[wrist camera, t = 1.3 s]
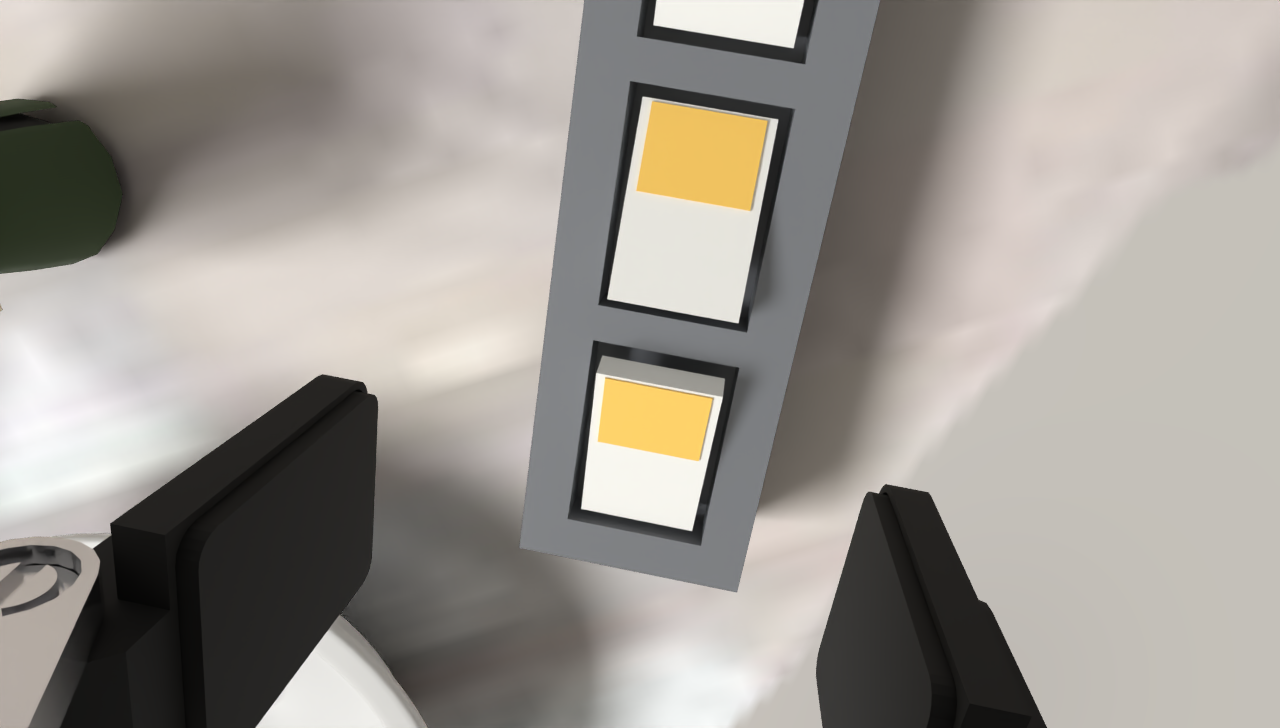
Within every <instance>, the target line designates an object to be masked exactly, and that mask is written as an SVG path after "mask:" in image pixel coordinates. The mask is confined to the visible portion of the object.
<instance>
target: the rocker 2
mask: <svg viewBox="0 0 1280 728" xmlns="http://www.w3.org/2000/svg"><path fill="white" fill-rule="evenodd" d="M803 3H804V0H656V8H655V16H654V25H655V26H661V27H667V28H673V29H680V30H686V31H692V32H698V33H704V34H710V35H716V36H722V37H728V38H734V39H740V40H746V41H752V42H758V43H764V44H771V45H777V46H783V47H789V48H794V44H795V39H796V35H797V30H798V26H799V21H800V17H801V12H802V8H803Z"/></svg>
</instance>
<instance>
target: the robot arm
mask: <svg viewBox="0 0 1280 728" xmlns="http://www.w3.org/2000/svg"><path fill="white" fill-rule="evenodd" d="M377 419H378V401H377V398H376V396H375V395H372V394H367V389H366V386H365V384H364V383H363V382H359V381H354V380H349V379H344V378H339V377H333V376H328V375H323V374H322V375H320V376H318V377H316V378H315V379H313V380H312V381H311V382H309V383H308V384H306V385H305V386H304V387H302V388H301V389H299V390H298V391H297V392H295V393H294V394H292V395H291V396H289V397H288V398H287V399H285V400H284V401H282V402H281V403H280V404H278V405H277V406H275V407H274V408H273V409H271V410H270V411H268V412H267V413H266V414H264V415H263V416H261V417H260V418H258V419H257V420H256V421H254V422H253V423H251V424H250V425H249V426H247V427H246V428H244V429H243V430H242V431H240V432H239V433H237V434H236V435H234V436H233V437H232V438H230V439H229V440H227V441H226V442H225V443H223V444H222V445H220V446H219V447H218V448H216V449H215V450H213V451H212V452H210V453H209V454H208V455H206V456H205V457H203V458H202V459H201V460H199V461H198V462H196V463H195V464H194V465H192V466H191V467H189V468H188V469H187V470H185V471H184V472H182V473H181V474H179V475H178V476H177V477H175V478H174V479H172V480H171V481H170V482H168V483H167V484H165V485H164V486H163V487H161V488H160V489H158V490H157V491H155V492H154V493H153V494H151V495H150V496H148V497H147V498H146V499H144V500H143V501H141V502H140V503H139V504H137V505H136V506H134V507H133V508H132V509H130V510H129V511H127V512H126V513H124V514H123V515H122V516H120V517H119V518H117V519H116V520H115V521H113V522H112V523H110V526H111V536H109V537H108V538H106V539H105V540H104V541H102V542H101V543H100V544H98V545H97V546H95V547H94V548H93V549H92V548H90V547H88V546H87V545H85V544H83V543H82V542H79V541H74V540H70V539H66V538H62V537H29V538H20V539H11V540H6V541H2V542H0V728H256V726H257V725H258V724H259V722H260V721H261V720H262V718H263V717H264V716H265V714H266V713H267V712H268V710H269V709H270V708H271V706H272V705H273V704H274V702H275V701H276V700H277V698H278V697H279V695H280V694H281V693H282V691H283V690H284V689H285V687H286V686H287V685H288V683H289V682H290V681H291V679H292V678H293V677H294V675H295V674H296V673H297V671H298V670H299V669H300V667H301V666H302V665H303V663H304V662H305V661H306V659H307V658H308V657H309V655H310V654H311V652H312V651H313V650H314V648H315V647H316V646H317V644H318V643H319V642H320V640H321V639H322V638H323V636H324V635H325V634H326V632H327V631H328V630H329V628H330V627H331V626H332V624H333V623H334V622H335V620H336V619H337V618H338V616H339V615H340V614H341V612H342V611H343V609H344V608H345V607H346V605H347V604H348V603H349V601H350V600H351V599H352V597H353V596H354V595H355V593H356V592H357V591H358V589H359V588H360V587H361V585H362V584H363V582H364V581H365V579H366V576H367V574H368V571H369V568H370V564H371V559H372V542H373V517H374V493H375V468H376V444H377ZM816 679H817V687H818V695H819V703H820V711H821V719H822V726H823V728H1047V727H1046V725H1045V722H1044V720H1043V718H1042V716H1041V714H1040V712H1039V710H1038V708H1037V705H1036V704H1035V701H1034V699H1033V697H1032V695H1031V693H1030V691H1029V689H1028V687H1027V685H1026V682H1025V680H1024V678H1023V676H1022V674H1021V672H1020V670H1019V667H1018V665H1017V663H1016V661H1015V659H1014V657H1013V655H1012V653H1011V651H1010V649H1009V646H1008V644H1007V642H1006V640H1005V638H1004V636H1003V634H1002V632H1001V629H1000V627H999V625H998V623H997V621H996V619H995V617H994V615H993V613H992V611H991V609H990V608H989V607H988V605H987V603H985V602H982V601H980V600H978V598H977V595H976V593H975V591H974V589H973V587H972V585H971V582H970V580H969V578H968V576H967V574H966V571H965V569H964V567H963V565H962V563H961V561H960V558H959V556H958V554H957V552H956V550H955V547H954V546H953V543H952V541H951V539H950V537H949V534H948V532H947V530H946V528H945V526H944V523H943V521H942V519H941V517H940V515H939V512H938V510H937V508H936V506H935V504H934V502H933V499H932V497H931V495H930V494H929V493H928V492H923V491H918V490H913V489H908V488H903V487H898V486H893V485H887V484H885V485H884V486H883V487H882V489H881V491H880V493H879V494H878V493H873V492H868V493H867V494H866V496H865V498H864V500H863V503H862V507H861V510H860V513H859V517H858V520H857V523H856V527H855V530H854V534H853V537H852V540H851V544H850V547H849V550H848V554H847V557H846V561H845V564H844V567H843V571H842V574H841V577H840V581H839V584H838V588H837V591H836V594H835V598H834V601H833V604H832V608H831V611H830V615H829V618H828V621H827V625H826V628H825V631H824V635H823V638H822V642H821V645H820V648H819V653H818V658H817V667H816Z"/></svg>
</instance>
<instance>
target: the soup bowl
mask: <svg viewBox="0 0 1280 728" xmlns="http://www.w3.org/2000/svg"><path fill="white" fill-rule="evenodd" d="M109 536H111V534H106V533H98V534H71V535H62V536H53V537H62V538H66V539H70V540H74V541H79V542H82V543H83V544H85V545H87V546H88V547H90V548H92V549H93V548H94V547H95V546H97V545H98V544H100V543H101V542H102V541H104V540H105V539H106V538H108V537H109ZM256 728H428V727H427V725H426V723H425V722H424V720H423V718H422V717H421V715H420V713H419V711H418V710H417V708H416V706H415V705H414V704H413V702H412V701H411V700H410V698H409V697H408V695H407V694H406V693H405V691H404V690H403V688H402V687H401V686H400V684H399V683H398V682H397V681H396V680H395V678H394V677H393V675H392V673H391V672H390V670H389V668H388V667H387V666H386V664H385V663H384V661H383V660H382V659H381V657H380V656H379V654H378V653H377V652H376V651H375V650H374V648H373V647H372V646H371V645H370V644H369V643H368V641H367V640H366V639H365V638H364V637H363V636H362V635H361V634H360V633H359V632H358V631H357V630H356V629H355V628H354V627H353V626H352V625H351V624H350V623H349V622H348V621H347V620H346V619H344V618H343V617H342V616H341V615H339V616H338V618H337V619H336V620H335V622H334V623H333V624H332V626H331V627H330V628H329V630H328V631H327V632H326V634H325V635H324V636H323V638H322V639H321V640H320V642H319V643H318V644H317V646H316V647H315V648H314V650H313V651H312V652H311V654H310V655H309V657H308V658H307V659H306V661H305V662H304V663H303V665H302V666H301V667H300V669H299V670H298V671H297V673H296V674H295V675H294V677H293V678H292V679H291V681H290V682H289V683H288V685H287V686H286V687H285V689H284V690H283V691H282V693H281V694H280V695H279V697H278V698H277V700H276V701H275V702H274V704H273V705H272V706H271V708H270V709H269V710H268V712H267V713H266V714H265V716H264V717H263V718H262V720H261V721H260V722H259V724H258V725H257V726H256Z"/></svg>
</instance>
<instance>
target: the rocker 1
mask: <svg viewBox="0 0 1280 728" xmlns="http://www.w3.org/2000/svg"><path fill="white" fill-rule="evenodd" d="M724 382H725V379H724V378H719V377H714V376H708V375H703V374H698V373H692V372H687V371H682V370H677V369H671V368H666V367H661V366H655V365H650V364H645V363H640V362H634V361H629V360H624V359H619V358H613V357H608V356H603V355H602V358H601V361H600V364H599V367H598V370H597V372H596V381H595V390H594V399H593V408H592V416H591V425H590V434H589V443H588V452H587V461H586V470H585V479H584V488H583V497H582V506H581V509H584V510H589V511H594V512H599V513H604V514H609V515H614V516H619V517H624V518H629V519H634V520H639V521H644V522H649V523H654V524H659V525H664V526H669V527H674V528H679V529H684V530H689V531H692V529H693V525H694V520H695V516H696V512H697V507H698V503H699V499H700V494H701V490H702V486H703V481H704V477H705V473H706V468H707V464H708V460H709V455H710V451H711V446H712V442H713V438H714V433H715V429H716V425H717V420H718V416H719V412H720V407H721V403H722V399H723V391H724Z"/></svg>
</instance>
